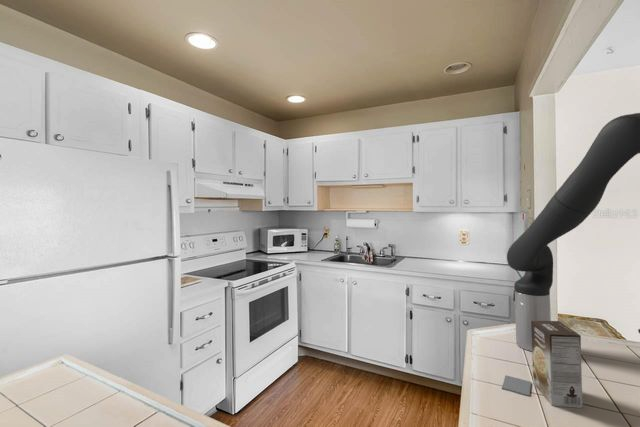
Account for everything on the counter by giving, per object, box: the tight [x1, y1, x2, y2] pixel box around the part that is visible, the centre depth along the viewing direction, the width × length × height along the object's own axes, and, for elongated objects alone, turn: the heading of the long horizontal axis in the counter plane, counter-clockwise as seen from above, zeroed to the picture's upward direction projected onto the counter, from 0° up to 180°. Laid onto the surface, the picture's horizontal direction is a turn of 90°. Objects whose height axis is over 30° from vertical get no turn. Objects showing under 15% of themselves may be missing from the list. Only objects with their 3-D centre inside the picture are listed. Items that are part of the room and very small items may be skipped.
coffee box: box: [531, 320, 583, 409], centre depth 71 cm, size 9×6×16 cm
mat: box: [501, 374, 532, 397], centre depth 75 cm, size 7×6×1 cm
